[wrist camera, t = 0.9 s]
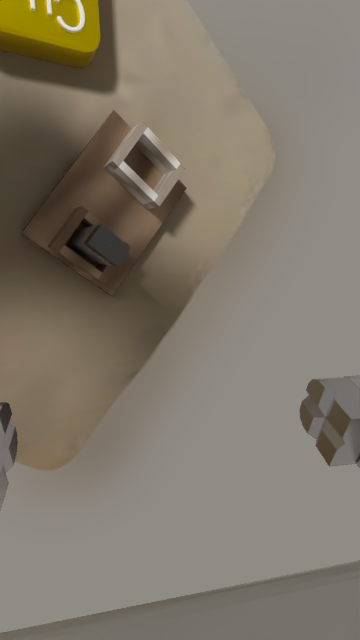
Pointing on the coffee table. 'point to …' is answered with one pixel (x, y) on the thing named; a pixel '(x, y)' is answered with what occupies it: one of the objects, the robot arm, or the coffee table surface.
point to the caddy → (110, 198)
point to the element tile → (51, 30)
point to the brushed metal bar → (99, 245)
